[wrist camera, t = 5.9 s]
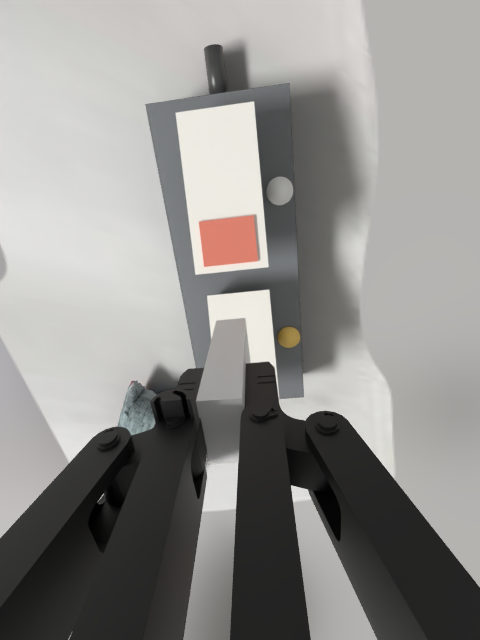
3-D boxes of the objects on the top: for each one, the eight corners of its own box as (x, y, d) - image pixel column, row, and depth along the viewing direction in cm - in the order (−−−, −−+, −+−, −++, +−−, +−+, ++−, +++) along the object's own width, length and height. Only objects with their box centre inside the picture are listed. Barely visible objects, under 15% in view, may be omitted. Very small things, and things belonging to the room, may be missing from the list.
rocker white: (182, 125, 19) (174, 111, 18) (254, 115, 19) (253, 100, 17) (200, 274, 21) (195, 274, 19) (267, 267, 20) (268, 267, 19)
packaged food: (220, 394, 32) (214, 428, 28) (186, 473, 37) (176, 513, 32) (138, 366, 32) (118, 396, 27) (113, 450, 36) (93, 488, 31)
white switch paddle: (210, 296, 24) (206, 295, 22) (268, 291, 24) (269, 289, 22) (222, 414, 24) (218, 422, 22) (279, 410, 24) (281, 418, 22)
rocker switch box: (151, 65, 22) (123, 31, 17) (281, 45, 21) (290, 3, 17) (208, 382, 32) (200, 417, 27) (298, 375, 31) (307, 409, 26)
